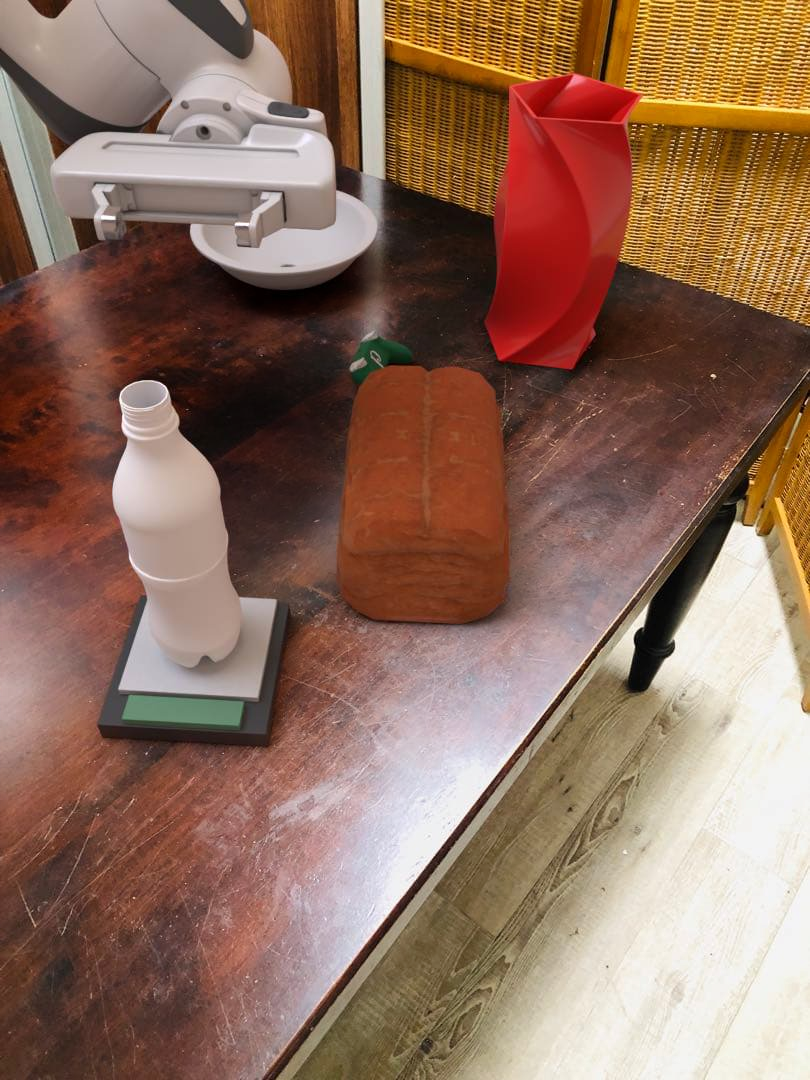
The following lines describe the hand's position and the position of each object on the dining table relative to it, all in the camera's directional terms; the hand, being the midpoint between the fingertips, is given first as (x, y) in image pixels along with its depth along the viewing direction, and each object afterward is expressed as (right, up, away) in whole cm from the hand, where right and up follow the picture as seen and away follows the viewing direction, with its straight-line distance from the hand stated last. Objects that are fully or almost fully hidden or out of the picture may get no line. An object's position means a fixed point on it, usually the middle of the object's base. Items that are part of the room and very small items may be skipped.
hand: (176, 234), depth 59 cm
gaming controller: (+13, -2, +43) cm, 45 cm away
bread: (+17, -18, +28) cm, 37 cm away
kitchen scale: (-2, -31, +14) cm, 34 cm away
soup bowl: (0, +15, +59) cm, 61 cm away
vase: (+32, +5, +50) cm, 60 cm away
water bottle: (-1, -29, +13) cm, 32 cm away
